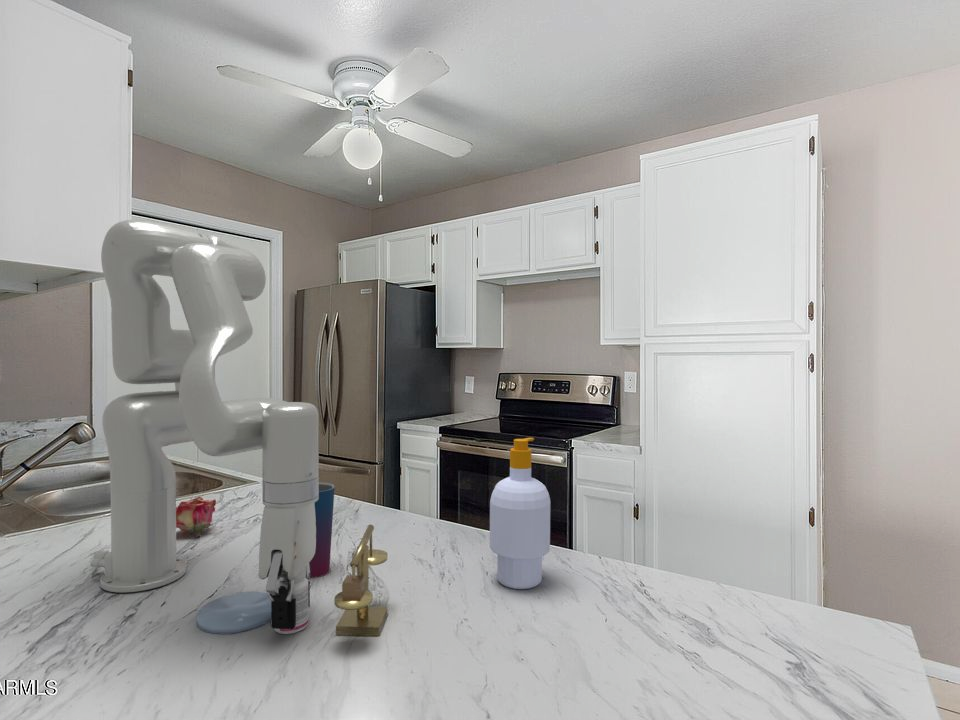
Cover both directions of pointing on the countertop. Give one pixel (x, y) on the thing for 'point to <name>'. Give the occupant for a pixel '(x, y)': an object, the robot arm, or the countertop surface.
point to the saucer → (235, 613)
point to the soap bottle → (520, 522)
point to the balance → (361, 593)
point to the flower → (195, 515)
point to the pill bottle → (298, 602)
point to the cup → (323, 530)
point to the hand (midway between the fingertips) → (291, 616)
